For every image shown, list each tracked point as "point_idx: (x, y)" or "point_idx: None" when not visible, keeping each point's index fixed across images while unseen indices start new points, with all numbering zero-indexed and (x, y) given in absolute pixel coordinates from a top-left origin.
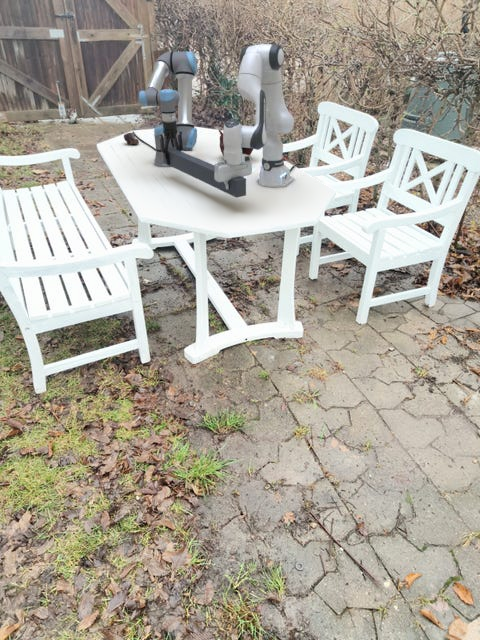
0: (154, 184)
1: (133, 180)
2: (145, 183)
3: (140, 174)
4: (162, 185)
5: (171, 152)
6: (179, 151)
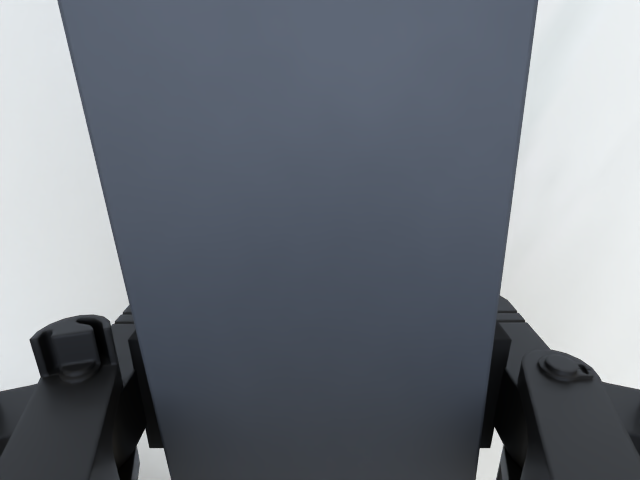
0: (577, 163)
1: (634, 374)
2: (619, 244)
3: (491, 468)
4: (536, 77)
5: (508, 194)
6: (157, 131)
